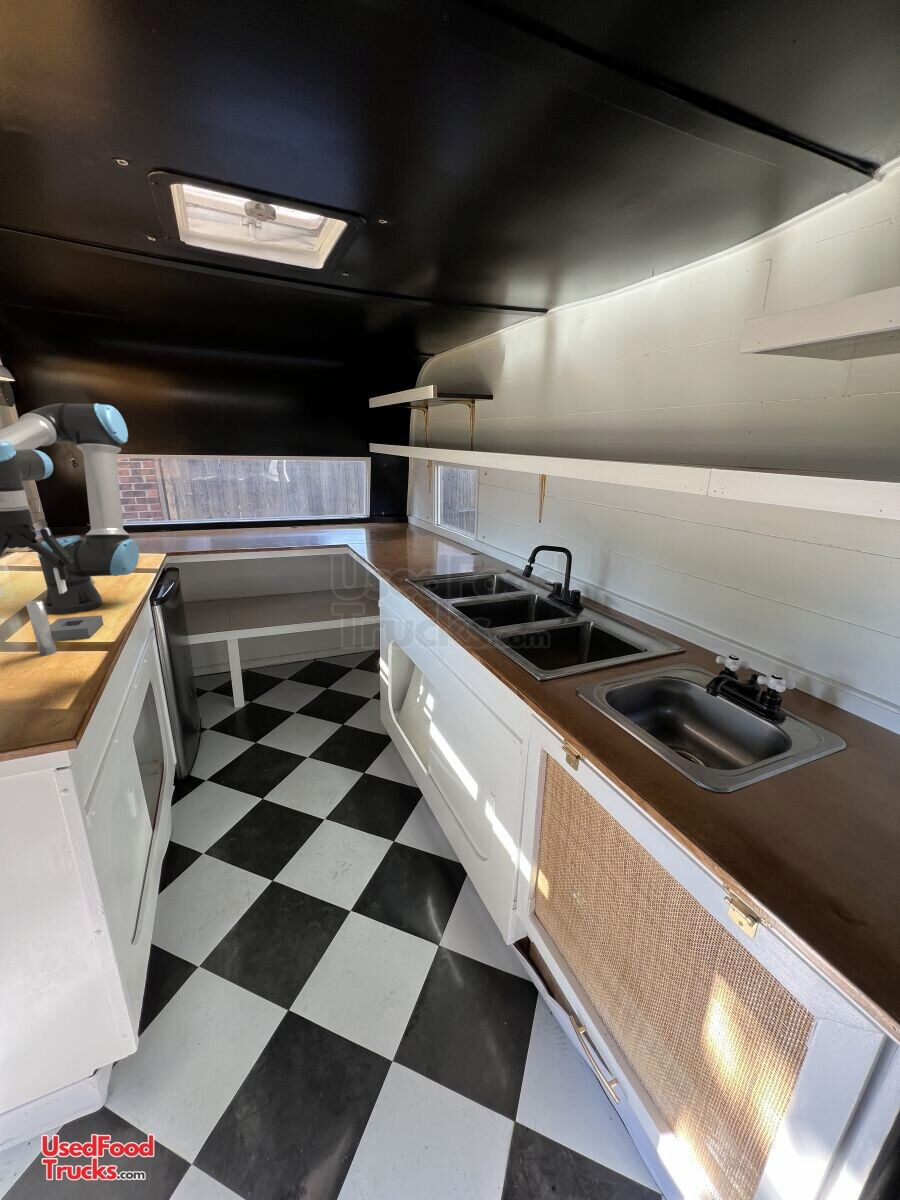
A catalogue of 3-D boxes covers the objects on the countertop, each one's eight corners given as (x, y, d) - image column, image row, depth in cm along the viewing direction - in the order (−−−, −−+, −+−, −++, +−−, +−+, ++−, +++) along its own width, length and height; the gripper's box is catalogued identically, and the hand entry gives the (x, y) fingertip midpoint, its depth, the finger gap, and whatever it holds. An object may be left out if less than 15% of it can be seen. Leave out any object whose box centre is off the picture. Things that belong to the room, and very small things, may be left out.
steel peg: (43, 650, 128) (29, 600, 123) (58, 649, 129) (45, 599, 124) (37, 656, 125) (22, 605, 120) (53, 654, 126) (39, 603, 121)
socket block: (60, 628, 143) (58, 618, 142) (103, 624, 146) (101, 615, 145) (43, 642, 133) (40, 632, 132) (89, 638, 136) (87, 628, 135)
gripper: (-68, 512, 108) (-40, 602, 115) (63, 509, 115) (83, 594, 122) (-47, 508, 115) (-21, 593, 121) (76, 505, 122) (94, 586, 128)
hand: (31, 594), depth 121 cm, fingers open, 13 cm apart
